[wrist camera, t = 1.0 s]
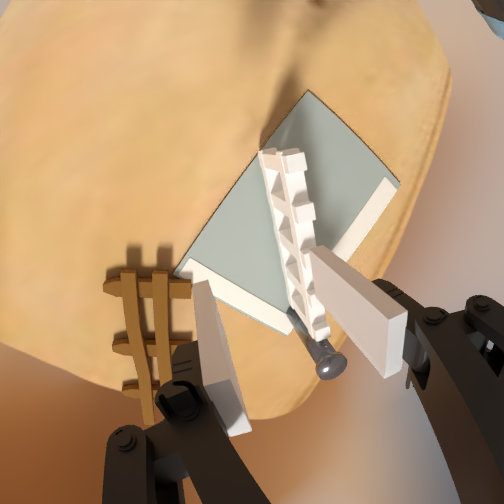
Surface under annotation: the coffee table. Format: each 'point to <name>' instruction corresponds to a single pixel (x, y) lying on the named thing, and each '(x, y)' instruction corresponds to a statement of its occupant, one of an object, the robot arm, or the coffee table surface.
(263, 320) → the board
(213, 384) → the robot arm
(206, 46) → the coffee table surface
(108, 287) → the decorative fence
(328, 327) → the fence panel
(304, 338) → the corner post
